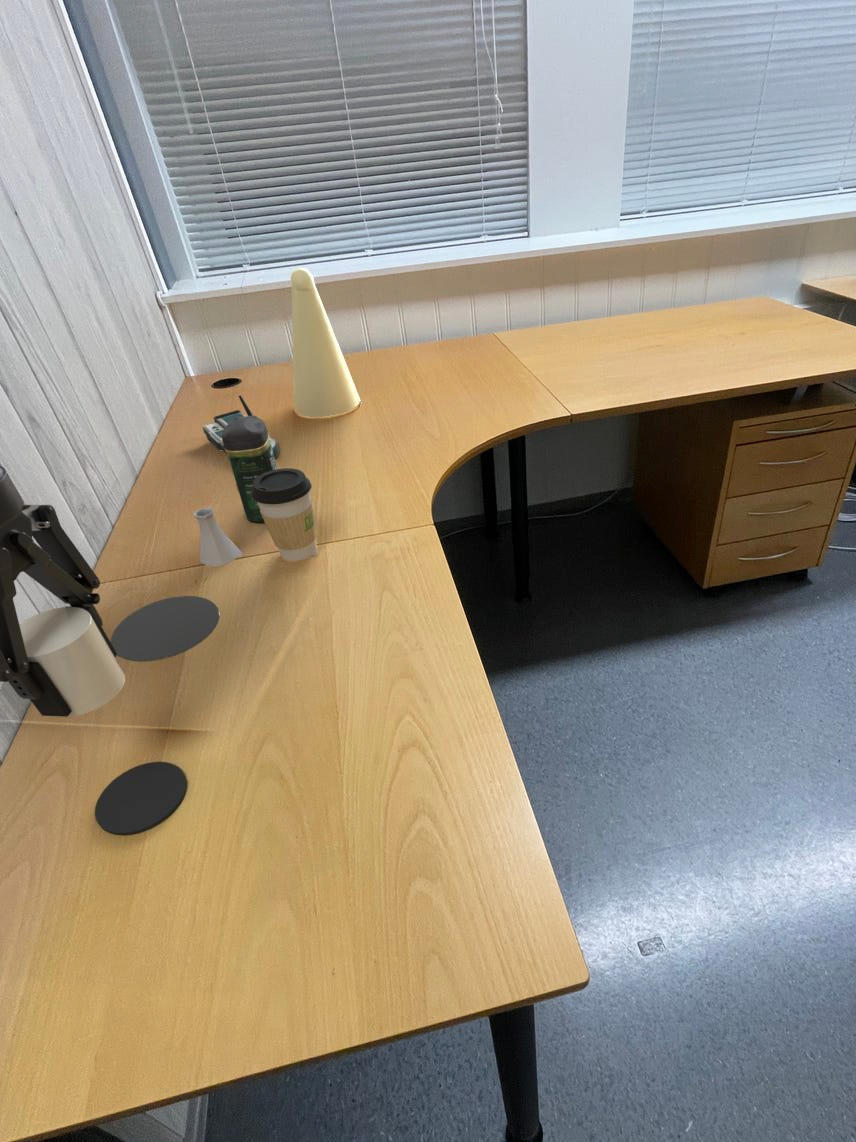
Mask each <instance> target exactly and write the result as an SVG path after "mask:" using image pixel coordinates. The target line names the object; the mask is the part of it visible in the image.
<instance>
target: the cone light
mask: <svg viewBox="0 0 856 1142" xmlns="http://www.w3.org/2000/svg"><path fill="white" fill-rule="evenodd" d="M290 283H291V323H292V324H291V326H292V328H291V329H292V331H291V332H292V335H291V336H292V378H293V379H292V381H293V384H292V385H293V412H294V411H295V412H296V413H298V414H300V415H303V416H309V417H323V416H330V415H336V414H341V413H344V412H347V411H349V410H351V409H353V408H354V407H356V406H357V405H358V404H359V402H360V401H361V399H360V396H359V393H358V391H357V388H356V386H355V383H354V381H353V378H352V376H351V373H350V371H349V368H348V365H347V363H346V361H345V358H344V355H343V352H342V350H341V348H340V344H339V342H338V340H337V337H336V334H335V332H334V330H333V328H332V324H331V322H330V319H329V317H328V315H327V313H326V309H325V307H324V304H323V302H322V300H321V297H320V295H319V291H318V289H317V287H316V284H315V279H314V276H313V275H312V273H311V272H310V270H308V269H307V268H303V267H298V268H296V269H295V270H293V271H292V273H291V275H290Z"/></svg>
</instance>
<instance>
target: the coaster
mask: <svg viewBox="0 0 856 1142" xmlns="http://www.w3.org/2000/svg"><path fill="white" fill-rule="evenodd" d="M187 788H188V780H187V777H186V774H185V773H184V771H183V770H182V769H181V768H180V767H179V766H177V765H176V764H174V763H171V762H167V761H151V762H146V763H142V764H139V765H137V766H133V767H131V768H130V769H127V770H126V771H124V772H122V773H121V774H119V775H118V776H117V777H115V778H114V779H113V780H111V782H110V783H108V785H107V786H105V788H104V790H103V791H102V792H101V793H100V795H99V797H98V799H97V801H96V804H95V806H94V818H95V821H96V823H97V824H98V826H99V827H100V828H101V829H102V830H103V831H104V832H106V833H108V834H111V835H115V836H133V835H137V834H140V833H143V832H146V831H148V830H151V829H153V828H155V827H156V826H158V825H160V824H162V823H164V821H165V820H167V819H168V818H169V817H171V816H172V815H173V814H174V813H175V811H177V809H178V808H179V807H180V805H181V804H182V802H183V800H184V798H185V796H186V793H187Z"/></svg>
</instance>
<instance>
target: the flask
mask: <svg viewBox="0 0 856 1142" xmlns="http://www.w3.org/2000/svg"><path fill="white" fill-rule="evenodd" d="M193 517H194V518H195V519H196V520H197V523H198V527H199V532H200V550H199V563H201V564H203V565H205V566H206V567H221V566H225V565H227V564H229V563H231V562H232V561H234V560H236V559H237V558H238V557H243V555H244V554H243V552H242V551H241V550H240V549H239V548H238V546H237V545H236V544H235V543H234V542H233V541H232V540H231V539H230V538H229V537H228V536H227V534H226V532H224V530H223V529H222V528H221V526H220V525H219V523H218V521H217V520H216V517H215V509H214V508H211V507H202V508H199V509H197V510H196V511H194V513H193Z"/></svg>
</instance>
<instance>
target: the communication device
mask: <svg viewBox="0 0 856 1142" xmlns="http://www.w3.org/2000/svg"><path fill="white" fill-rule="evenodd" d="M238 399H239V400H240V403H241V404H242V406H243V408H244V410H245V413H246V415H247V416H254V414H253V413H252V411H251V410H250V408H249V406H248V404H247V403H246V401H245V399H244V398H243V397H242V395H241V394H240V395H238ZM246 415H245V414H244V413H243V412H242V411H241V410H240V409H236V410H233V411H229V412H225V413H222V414H218V415H215V416H213V421H214V422H212V423H209V424H206V425H202V431H203V433H204V434H205V436H206V438H207V441H208V442H209V443H211V445H213V446H214V447H215V448H216V449H217V450H218V451H220V450H222V452H224V451H225V448H224V445H223V441H222V433H223V431H224V429H225V427H226V426H227V425H228V424H229V423H230V422H231V421H232V420H234V418H235V417H243V416H246ZM269 438H270V442H271V447H272V450H273V455H274V458H276V459H277V457H278V456H279V454H280V449H279V446H278V445H279V442H278V441H277V440H276V439H274V438H273V437H271V436H269ZM223 450H224V451H223ZM225 452H226V451H225Z"/></svg>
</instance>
